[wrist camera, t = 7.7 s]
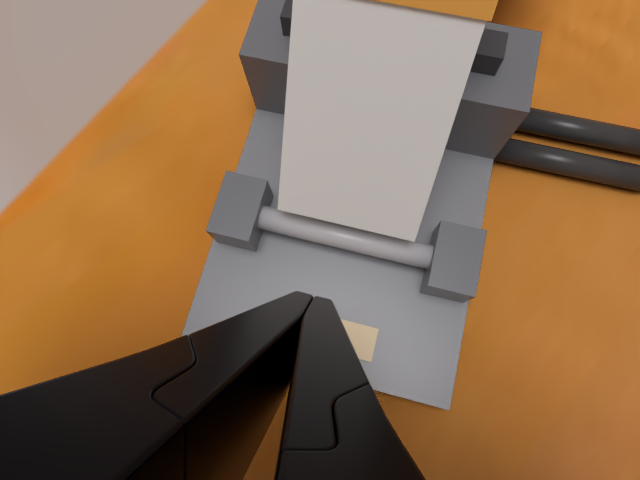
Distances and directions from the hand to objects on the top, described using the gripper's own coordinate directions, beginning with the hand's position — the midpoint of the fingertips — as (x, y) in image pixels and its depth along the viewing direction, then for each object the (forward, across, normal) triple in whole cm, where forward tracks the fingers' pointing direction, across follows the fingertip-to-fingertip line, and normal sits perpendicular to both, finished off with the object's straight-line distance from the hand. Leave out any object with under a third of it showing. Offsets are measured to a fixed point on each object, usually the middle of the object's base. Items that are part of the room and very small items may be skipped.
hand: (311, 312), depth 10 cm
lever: (+7, 0, -1) cm, 7 cm away
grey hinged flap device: (+9, +3, -2) cm, 10 cm away
